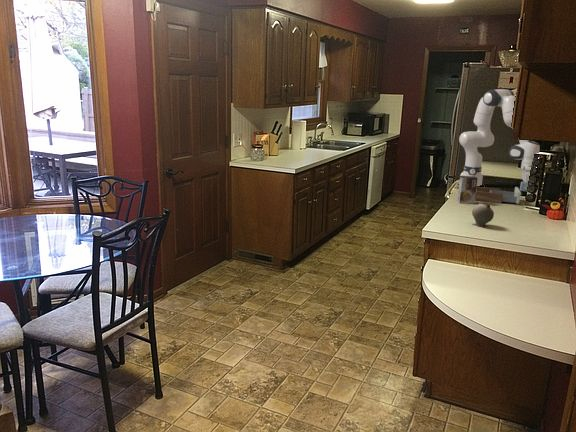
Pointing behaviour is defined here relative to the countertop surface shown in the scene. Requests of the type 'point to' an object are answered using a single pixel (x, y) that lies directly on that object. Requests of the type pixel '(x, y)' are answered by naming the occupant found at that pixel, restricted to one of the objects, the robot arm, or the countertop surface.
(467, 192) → the coffee box
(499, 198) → the box
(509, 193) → the tray
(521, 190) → the block
